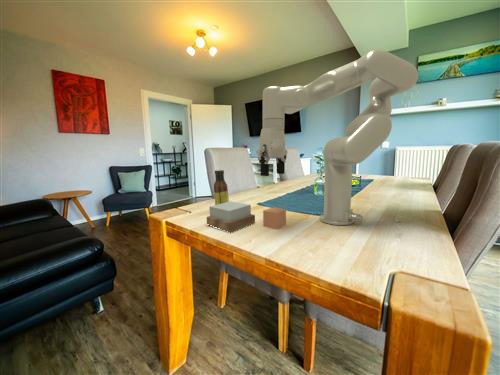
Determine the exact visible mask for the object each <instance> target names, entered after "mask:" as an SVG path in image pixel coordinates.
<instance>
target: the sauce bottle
mask: <svg viewBox="0 0 500 375" xmlns="http://www.w3.org/2000/svg"><path fill="white" fill-rule="evenodd" d="M214 174H215V175H214V176H215V182H214V183H213V195H214V205H218V204H222V203H226V202H230V201H229V189H228V188H229V187H228V184H227V182H226V181H225V170H224V169H216V170H214Z"/></svg>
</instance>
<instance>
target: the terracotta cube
mask: <svg viewBox="0 0 500 375" xmlns="http://www.w3.org/2000/svg"><path fill="white" fill-rule="evenodd" d="M262 214H263V216H262V218H263V221H262V223H263V227H266V228H271V229H274V230H278V229H281V228H282V226H283V227H284V225H285V226H286V225H287V209H285V208H280V207H269V208H266V209H264V210H263V212H262Z"/></svg>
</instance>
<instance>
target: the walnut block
mask: <svg viewBox="0 0 500 375" xmlns="http://www.w3.org/2000/svg"><path fill="white" fill-rule="evenodd" d="M254 223H255V224H256V215H255V214H252V213H251V215H249V216H246V217H243V218H241V219H238V220H235V221H232V222H228V221H224V220H220V219H216V218H213V217H210V215H209V216H206V225H207V224H209V225H212V226H214V227H217V228H220V229H222V230H225V231H224V232H226V231H228V232H227V233H229V232H230V233H229V234H232V233H235V232H237V231H239V229H240V230H242V229H244V227H245V228H246V226H247V227H250V226H252V225H255V224H254ZM251 224H252V225H251ZM249 225H250V226H249ZM222 230H221V231H222ZM236 230H237V231H236ZM234 231H235V232H234ZM231 232H232V233H231Z"/></svg>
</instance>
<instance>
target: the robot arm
mask: <svg viewBox="0 0 500 375" xmlns="http://www.w3.org/2000/svg"><path fill="white" fill-rule="evenodd" d="M418 79H419V72H418V69H417V68H416V66H414V64H413V63H410V62H409V61H407V60H405V59H403V58H402V57H399V56H397V55H396V54H393V53H391V52H389V51H386V50H382V49H373V50H370V51H369V52H367V53H366V54H364V55H363V56H360V58H358V59H356V60H354V61H352V62H349V63H347V64H345V65H343V66H339V67H337V68H335V69H332V70H329V71H327V72H326V73H323V74H322V75H320V76H319V77H317V78H316V79H315V80H313V81H312V82H310V83H308V84H307V85H304V86H303V85H292V86H280V85H271V86H267V87H265V88H264V89H263V91H262V129H260V130H261V131H260V135H259V144H258V146H259V147H258V149H257V150H256V155H257V160H258V163H259V165H260V176H261V177H268V176H270V164H269V162H270V159H276V161H277V162H276V174H278V175H279V174H280V175H284V174H285V164H286V160H287V156H288V150H287V149H286V138H285V136H286V135H285V114H287V115H292V114H294V113H297V112H299V111H301V110H304V109H306V108H309V107H311V106H313V105H316V104H319V103H321V102H324V101H328V100H330V99H332V98H334V97H337V96H339V95H341V94H344V93H346V92H348V91H352V90H353V89H356V88H357V87H361V86H363V85H365V84H367V83H369V82H371V81H372V82H371V84H370V86H369V89H368V95H369V103H368V104H367V106H366V107H365V109H364V110H363V111H362V112H360V114H358V116H356V117H355V118H354V119H353V120H352V121H351V122H350V123H349V124H348V125H347V127H346V130H345V136H340V137H334V138H332V139H329V141H327V142H326V143H325V145H324V147H323V151H322V156H323V162H324V189H323V190H324V194H323V197H324V198H323V201H324V202H323V203H324V204H323V214H321V215H319V220H320V221H321V222H323V223H325V224H329V225H333V226H334V225H335V226H348V225H352V224H354V223H355V220H356V221H363V215H361V213H355V212H354V210H353V209H351V207H352V206H351V205H352V203H351V202H352V188H353V187H352V184H353V183H352V182H353V170H352V166H351V165H358V164H361V163H363V162H364V161H365V160H367V158H369V157H370V156H371V155H372V154H373V153H374V151H376V150H377V149H378V148H379V147H380V146H381V145H382V144H383V143H384V142H385V141H386V140H387V139H388V138H389V136H390V134H391V131H392V127H393V126H392V125H393V124H392V120H391V118H390V117H391V115H392V101H391V97H393V96H396V95H399V94H400V95H401V94H402V93H405V92H407V91H410V90H411V89H412V88H413V87H414V86H416V84H417V82H418Z"/></svg>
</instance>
